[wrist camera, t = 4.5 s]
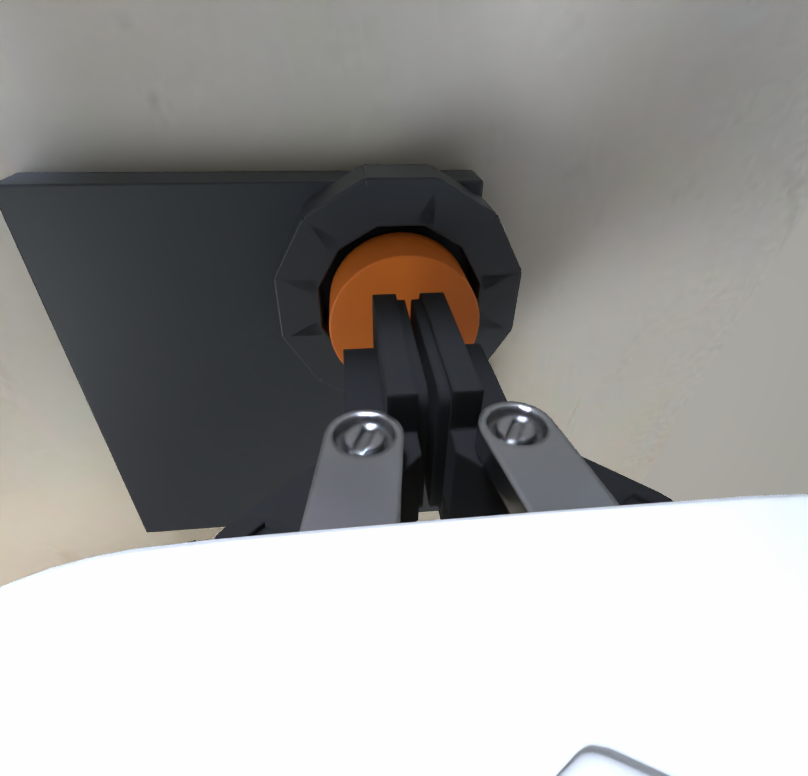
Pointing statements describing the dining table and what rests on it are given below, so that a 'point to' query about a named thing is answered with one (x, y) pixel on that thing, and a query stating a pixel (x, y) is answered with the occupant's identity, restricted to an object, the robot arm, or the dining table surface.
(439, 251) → the button
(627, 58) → the dining table surface
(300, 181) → the scale
